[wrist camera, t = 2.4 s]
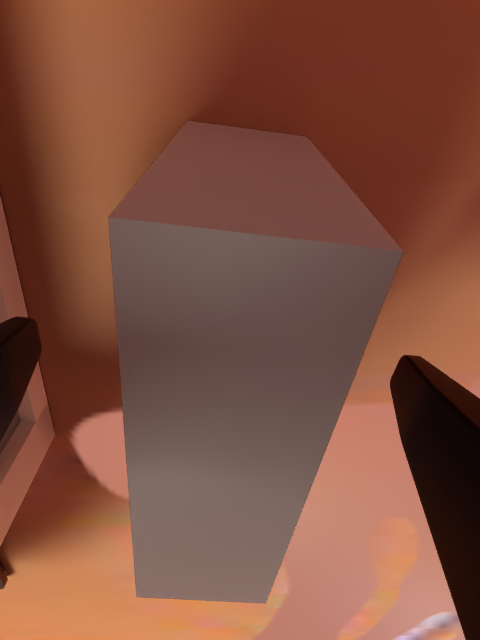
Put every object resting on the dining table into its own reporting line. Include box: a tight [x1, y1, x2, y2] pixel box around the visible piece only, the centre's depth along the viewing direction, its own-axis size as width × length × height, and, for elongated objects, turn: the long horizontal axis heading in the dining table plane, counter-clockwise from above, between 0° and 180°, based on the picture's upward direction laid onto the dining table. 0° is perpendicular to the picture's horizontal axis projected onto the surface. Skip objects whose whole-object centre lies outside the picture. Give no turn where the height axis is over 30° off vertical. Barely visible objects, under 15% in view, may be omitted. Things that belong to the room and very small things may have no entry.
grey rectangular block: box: [108, 121, 404, 604], centre depth 9 cm, size 9×3×7 cm, turn 173°
